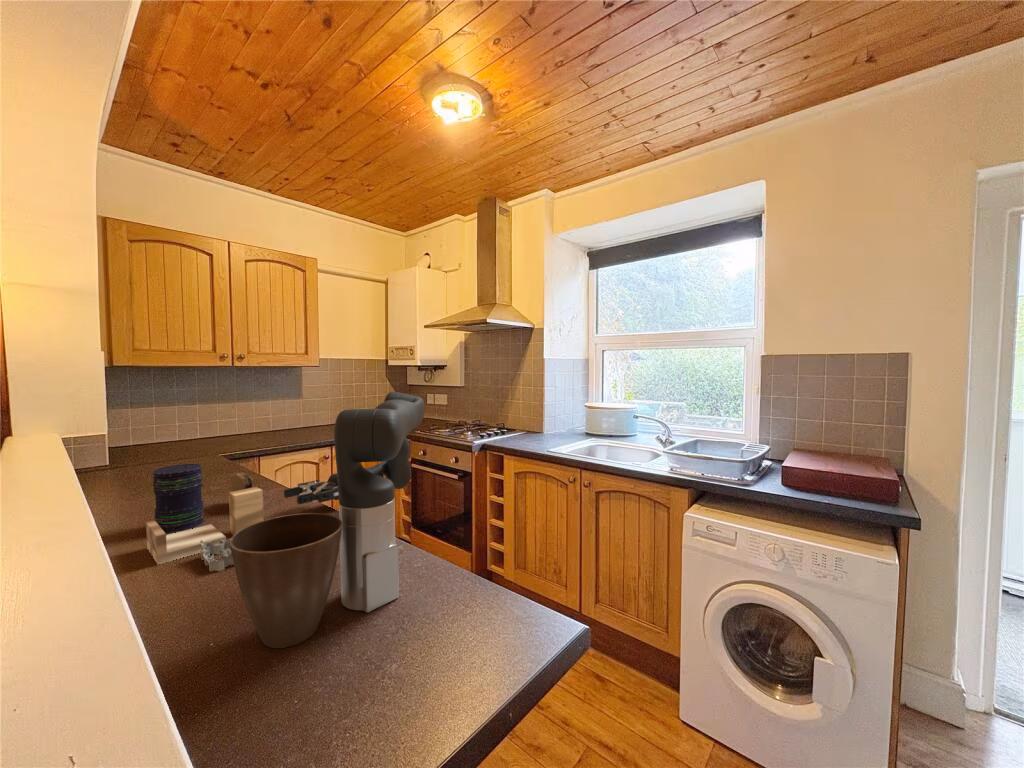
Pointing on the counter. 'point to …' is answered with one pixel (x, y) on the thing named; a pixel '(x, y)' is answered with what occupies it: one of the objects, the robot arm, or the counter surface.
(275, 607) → the plant pot
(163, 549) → the birch board
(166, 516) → the storage jar
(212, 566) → the egg carton
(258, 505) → the oak plank block
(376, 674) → the counter surface
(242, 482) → the wooden carving
